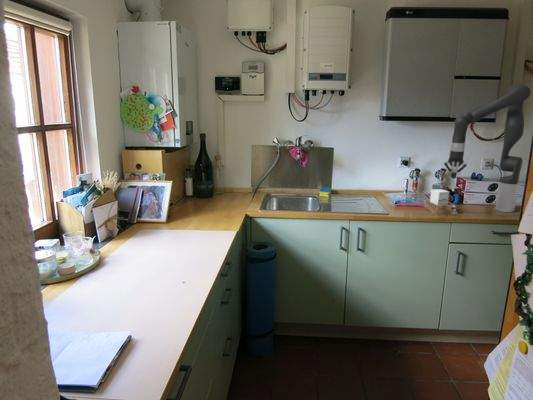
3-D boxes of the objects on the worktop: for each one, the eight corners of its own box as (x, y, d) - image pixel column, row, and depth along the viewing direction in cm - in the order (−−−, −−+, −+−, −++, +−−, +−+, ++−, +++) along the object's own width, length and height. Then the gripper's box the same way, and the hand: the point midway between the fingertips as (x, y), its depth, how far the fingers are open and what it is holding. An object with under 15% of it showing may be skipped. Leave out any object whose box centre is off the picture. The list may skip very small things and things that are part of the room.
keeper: (444, 207, 240) (445, 199, 238) (458, 214, 226) (459, 205, 224) (423, 207, 238) (424, 199, 237) (436, 214, 224) (437, 206, 223)
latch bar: (442, 201, 240) (442, 197, 239) (445, 201, 240) (446, 197, 239) (453, 208, 225) (453, 203, 225) (457, 208, 225) (458, 203, 225)
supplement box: (436, 212, 228) (439, 192, 224) (428, 209, 235) (430, 189, 231) (446, 212, 230) (449, 191, 226) (438, 208, 236) (441, 188, 233)
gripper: (469, 150, 231) (464, 178, 235) (445, 148, 236) (441, 176, 240) (470, 151, 224) (465, 180, 229) (445, 150, 229) (441, 178, 234)
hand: (453, 178), depth 234 cm, fingers closed
